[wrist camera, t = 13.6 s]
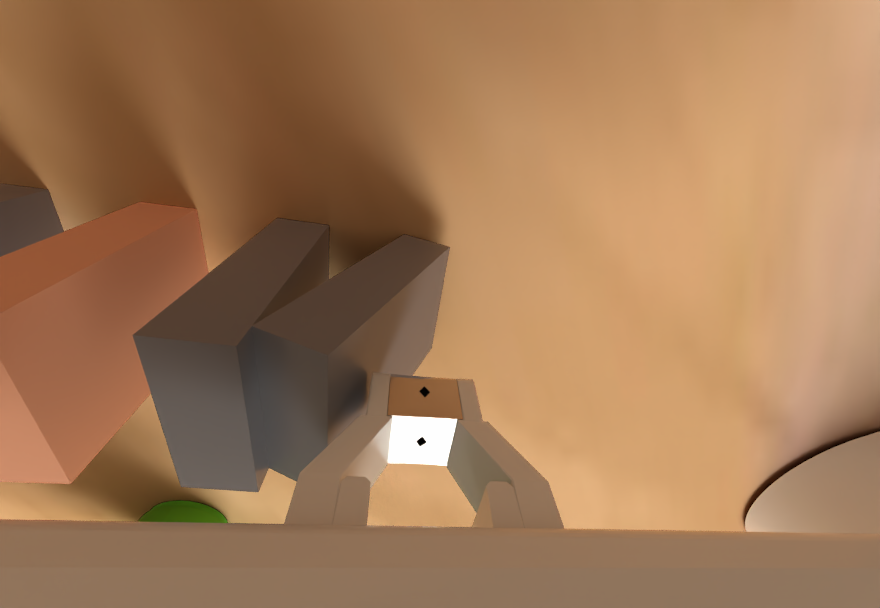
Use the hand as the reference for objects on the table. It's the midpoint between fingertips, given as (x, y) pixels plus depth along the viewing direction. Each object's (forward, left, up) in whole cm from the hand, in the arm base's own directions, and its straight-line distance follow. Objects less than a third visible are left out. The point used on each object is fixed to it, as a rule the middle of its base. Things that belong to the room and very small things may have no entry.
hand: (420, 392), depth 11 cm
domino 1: (+10, 0, -6) cm, 12 cm away
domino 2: (+5, 0, -6) cm, 8 cm away
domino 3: (0, 0, -6) cm, 6 cm away
